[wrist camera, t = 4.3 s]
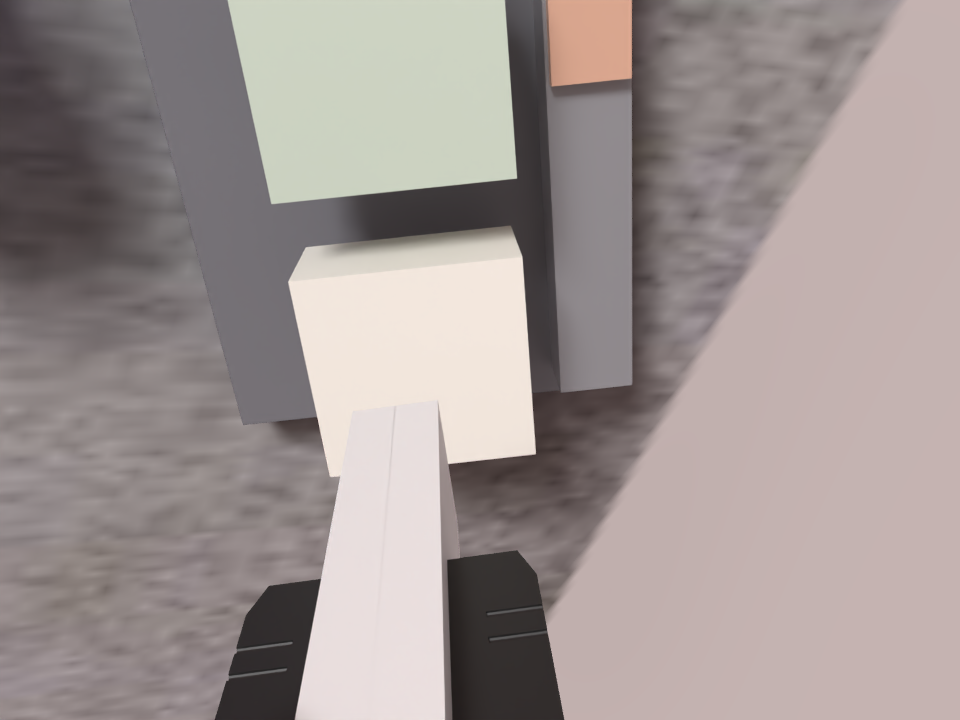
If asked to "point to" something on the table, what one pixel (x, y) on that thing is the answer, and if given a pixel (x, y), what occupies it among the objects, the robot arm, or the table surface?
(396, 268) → the ivory key
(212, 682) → the table surface
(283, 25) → the sage key
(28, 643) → the table surface
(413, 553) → the robot arm
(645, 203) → the table surface
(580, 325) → the keypad
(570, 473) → the table surface
